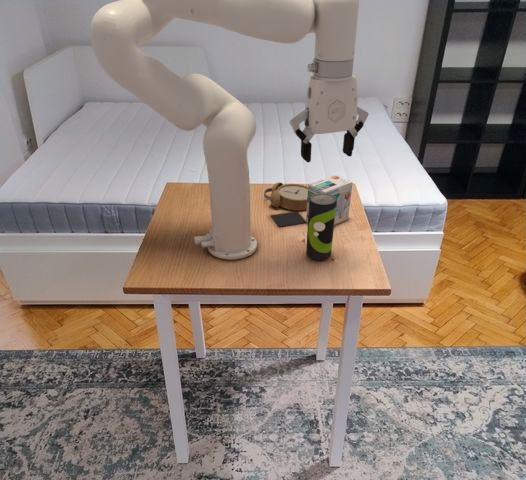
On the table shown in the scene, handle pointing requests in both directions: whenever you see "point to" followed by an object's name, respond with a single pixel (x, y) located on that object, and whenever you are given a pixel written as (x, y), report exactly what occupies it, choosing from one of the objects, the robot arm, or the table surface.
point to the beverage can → (320, 226)
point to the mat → (288, 219)
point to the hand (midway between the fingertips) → (326, 157)
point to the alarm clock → (288, 196)
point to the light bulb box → (336, 188)
